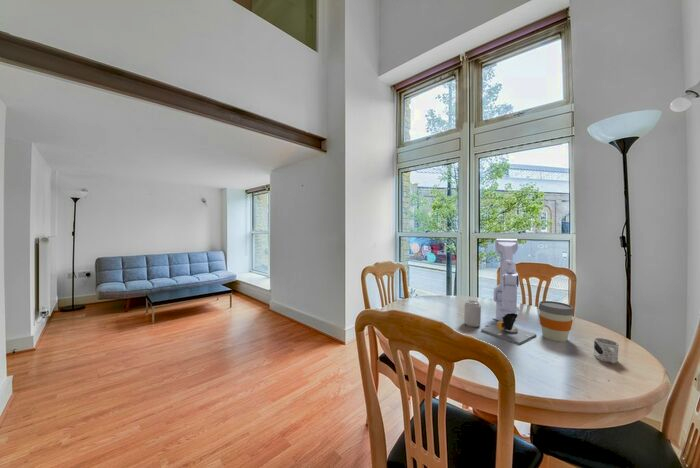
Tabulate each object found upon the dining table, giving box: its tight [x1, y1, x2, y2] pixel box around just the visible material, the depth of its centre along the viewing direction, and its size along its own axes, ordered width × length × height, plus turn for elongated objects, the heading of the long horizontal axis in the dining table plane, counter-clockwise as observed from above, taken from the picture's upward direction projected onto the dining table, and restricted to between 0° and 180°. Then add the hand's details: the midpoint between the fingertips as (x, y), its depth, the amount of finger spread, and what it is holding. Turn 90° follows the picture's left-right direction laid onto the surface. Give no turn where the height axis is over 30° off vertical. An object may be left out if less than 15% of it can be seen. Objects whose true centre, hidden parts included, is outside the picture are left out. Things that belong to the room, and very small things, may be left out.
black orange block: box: [496, 320, 519, 333], centre depth 124 cm, size 11×7×5 cm, turn 115°
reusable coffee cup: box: [538, 300, 574, 343], centre depth 119 cm, size 13×12×15 cm
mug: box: [593, 337, 619, 364], centre depth 99 cm, size 10×7×7 cm
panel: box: [480, 322, 537, 346], centre depth 123 cm, size 16×17×1 cm
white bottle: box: [463, 300, 482, 328], centre depth 134 cm, size 8×8×12 cm
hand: (508, 329), depth 120 cm, fingers closed
